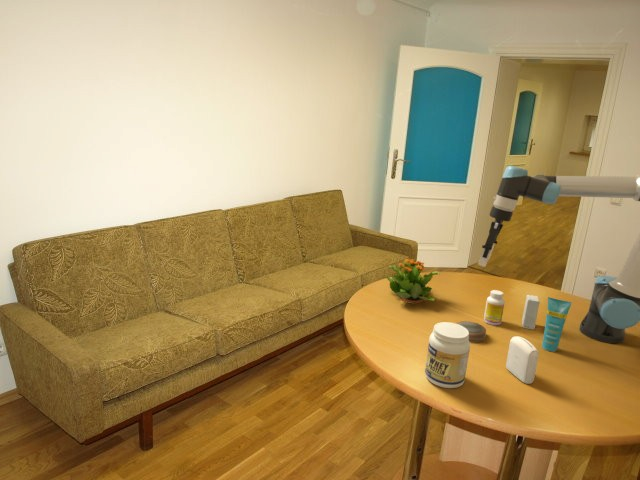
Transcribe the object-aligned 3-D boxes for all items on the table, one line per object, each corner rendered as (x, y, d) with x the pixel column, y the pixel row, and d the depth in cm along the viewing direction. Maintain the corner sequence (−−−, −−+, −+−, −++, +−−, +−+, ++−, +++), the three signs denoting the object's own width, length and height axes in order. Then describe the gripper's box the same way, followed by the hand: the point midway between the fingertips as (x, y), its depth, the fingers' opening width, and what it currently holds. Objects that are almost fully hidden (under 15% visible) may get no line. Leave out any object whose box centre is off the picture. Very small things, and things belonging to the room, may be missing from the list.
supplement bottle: (502, 326, 181) (507, 296, 178) (484, 324, 183) (489, 294, 179) (499, 319, 188) (504, 290, 184) (482, 317, 189) (487, 288, 185)
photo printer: (503, 367, 152) (509, 333, 149) (514, 366, 153) (520, 332, 150) (523, 385, 143) (530, 349, 139) (535, 383, 144) (542, 348, 140)
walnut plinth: (491, 339, 171) (492, 331, 170) (469, 344, 166) (470, 336, 165) (469, 326, 180) (470, 318, 180) (448, 331, 176) (449, 323, 175)
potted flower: (451, 308, 196) (456, 269, 191) (403, 314, 188) (407, 274, 183) (418, 286, 219) (422, 251, 214) (374, 291, 210) (377, 255, 205)
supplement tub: (416, 377, 144) (422, 327, 140) (437, 363, 153) (443, 316, 148) (451, 395, 136) (459, 343, 131) (471, 379, 144) (479, 330, 140)
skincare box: (534, 330, 180) (539, 301, 176) (522, 328, 181) (527, 299, 178) (532, 323, 185) (538, 296, 182) (521, 321, 187) (526, 294, 183)
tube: (537, 348, 166) (547, 298, 161) (538, 342, 170) (548, 294, 165) (560, 354, 162) (571, 304, 157) (561, 348, 166) (572, 299, 161)
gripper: (495, 202, 181) (477, 252, 187) (489, 208, 159) (469, 265, 165) (515, 208, 178) (496, 259, 184) (511, 215, 156) (490, 272, 162)
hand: (483, 262), depth 175 cm, fingers open, 13 cm apart
